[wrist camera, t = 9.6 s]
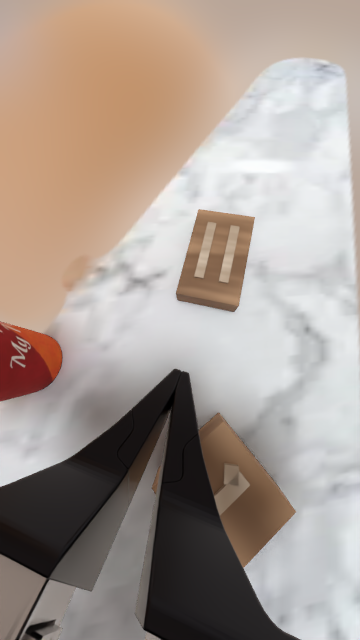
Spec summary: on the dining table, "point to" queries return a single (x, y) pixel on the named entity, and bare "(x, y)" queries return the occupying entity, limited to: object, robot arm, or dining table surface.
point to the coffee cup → (26, 361)
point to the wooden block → (216, 260)
